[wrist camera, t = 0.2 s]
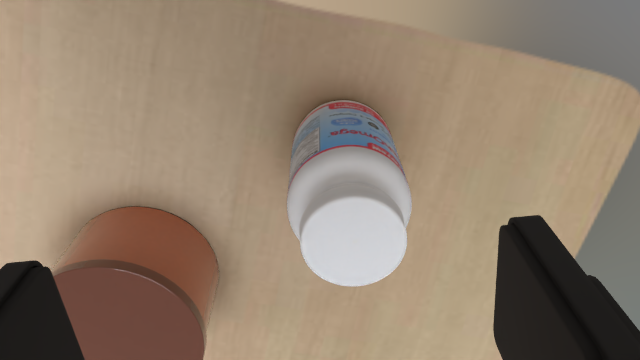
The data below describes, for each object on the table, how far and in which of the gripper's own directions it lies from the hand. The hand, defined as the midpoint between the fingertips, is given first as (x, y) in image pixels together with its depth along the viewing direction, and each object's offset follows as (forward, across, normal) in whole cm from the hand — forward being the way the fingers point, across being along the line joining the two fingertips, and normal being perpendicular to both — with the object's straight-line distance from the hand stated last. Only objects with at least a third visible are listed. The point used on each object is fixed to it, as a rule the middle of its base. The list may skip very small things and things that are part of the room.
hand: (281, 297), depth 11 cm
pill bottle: (+22, -2, +6) cm, 23 cm away
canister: (+22, +12, +14) cm, 28 cm away
